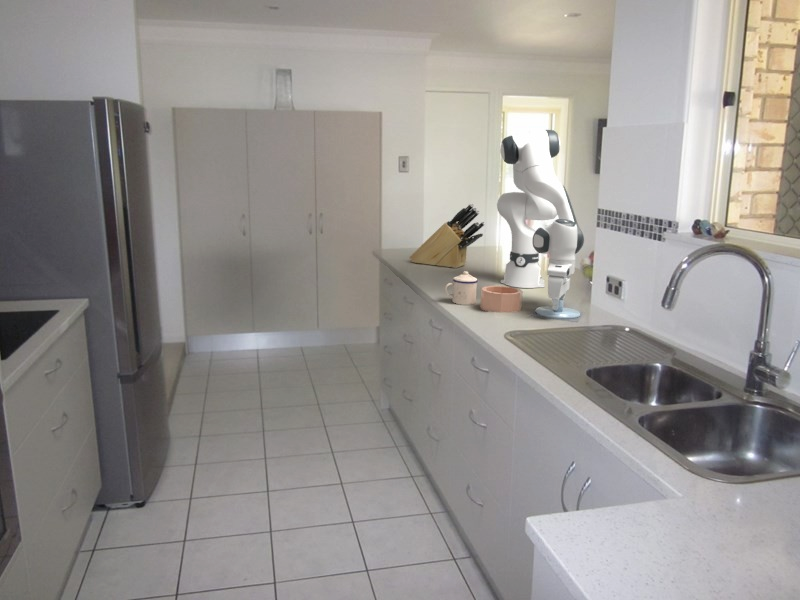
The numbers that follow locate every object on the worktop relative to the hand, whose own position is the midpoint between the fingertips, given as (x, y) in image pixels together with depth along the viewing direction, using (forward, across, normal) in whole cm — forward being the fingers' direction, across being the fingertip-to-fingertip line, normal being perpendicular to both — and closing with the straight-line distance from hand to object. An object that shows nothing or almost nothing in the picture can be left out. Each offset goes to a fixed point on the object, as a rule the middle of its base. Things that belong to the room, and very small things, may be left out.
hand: (557, 306), depth 224 cm
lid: (+3, 0, 0) cm, 3 cm away
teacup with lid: (+3, -1, -36) cm, 36 cm away
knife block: (+3, -75, -69) cm, 102 cm away
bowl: (+3, +1, -20) cm, 20 cm away
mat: (+3, 0, 0) cm, 3 cm away
